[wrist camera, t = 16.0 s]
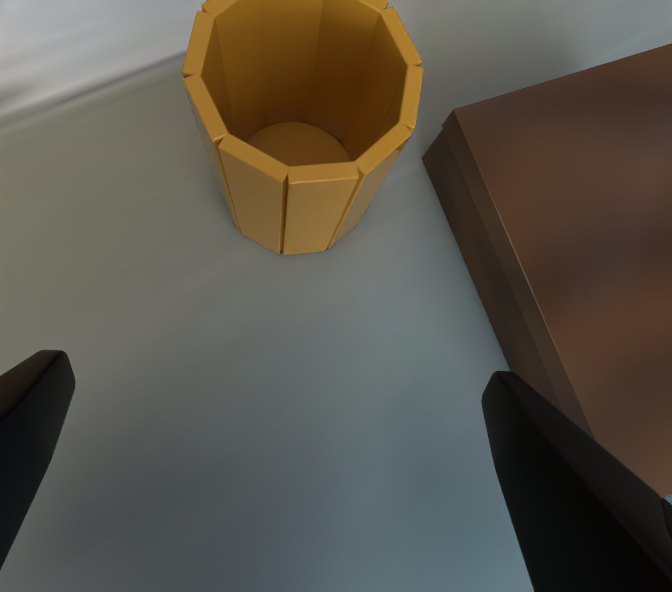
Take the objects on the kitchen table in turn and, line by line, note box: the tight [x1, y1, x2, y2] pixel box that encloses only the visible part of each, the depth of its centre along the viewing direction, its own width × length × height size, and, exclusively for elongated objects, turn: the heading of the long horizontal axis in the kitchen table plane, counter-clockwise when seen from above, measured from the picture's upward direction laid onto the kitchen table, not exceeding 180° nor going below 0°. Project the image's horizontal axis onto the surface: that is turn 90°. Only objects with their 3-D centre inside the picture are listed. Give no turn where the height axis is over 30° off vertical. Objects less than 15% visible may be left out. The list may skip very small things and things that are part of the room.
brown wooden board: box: [422, 43, 672, 498], centre depth 19 cm, size 16×11×4 cm
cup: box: [182, 0, 424, 255], centre depth 16 cm, size 6×7×8 cm
